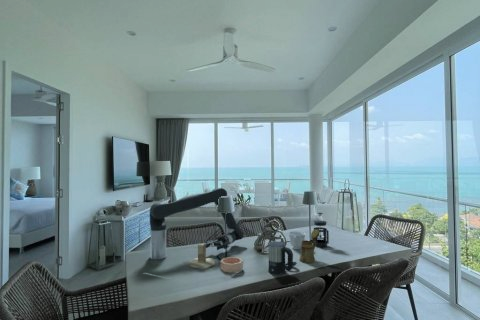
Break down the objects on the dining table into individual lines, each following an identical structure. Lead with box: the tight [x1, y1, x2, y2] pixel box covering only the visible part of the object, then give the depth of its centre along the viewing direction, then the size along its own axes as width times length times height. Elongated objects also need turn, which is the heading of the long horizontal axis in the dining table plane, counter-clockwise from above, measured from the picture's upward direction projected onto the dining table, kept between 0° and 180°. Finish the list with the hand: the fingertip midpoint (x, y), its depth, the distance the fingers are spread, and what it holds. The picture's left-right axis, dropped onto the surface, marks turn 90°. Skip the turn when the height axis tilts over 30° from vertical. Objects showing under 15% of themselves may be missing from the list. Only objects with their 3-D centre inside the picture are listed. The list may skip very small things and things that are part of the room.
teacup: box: [287, 231, 307, 250], centre depth 184 cm, size 12×15×10 cm
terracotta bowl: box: [219, 256, 244, 275], centre depth 147 cm, size 11×11×5 cm
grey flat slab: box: [182, 256, 221, 273], centre depth 154 cm, size 18×16×1 cm
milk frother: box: [267, 240, 298, 275], centre depth 147 cm, size 14×16×15 cm
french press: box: [313, 212, 330, 249], centre depth 190 cm, size 12×9×23 cm
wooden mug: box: [299, 229, 320, 264], centre depth 162 cm, size 9×14×18 cm, turn 116°
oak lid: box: [188, 242, 215, 270], centre depth 154 cm, size 15×15×11 cm
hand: (211, 247), depth 163 cm, fingers open, 8 cm apart
